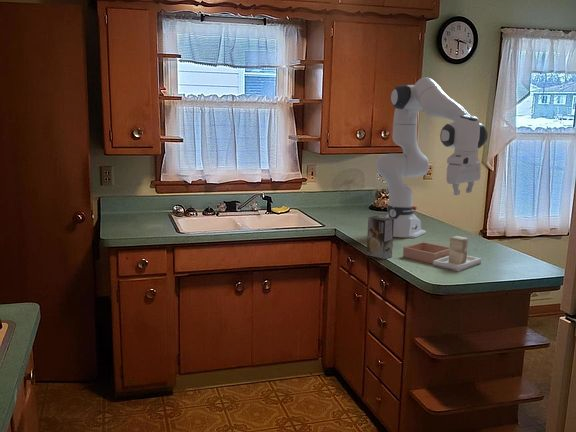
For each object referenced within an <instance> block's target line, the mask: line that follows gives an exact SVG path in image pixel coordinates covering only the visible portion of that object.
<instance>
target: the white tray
mask: <svg viewBox="0 0 576 432" xmlns="http://www.w3.org/2000/svg"><path fill="white" fill-rule="evenodd" d="M448 261H449V256H446V257H443V258H440V259H437V260H434V261H433V263H432V266H433V267H438V268H442V269H446V270H450V271H455V272H461V271H463V270H467V269H469V268H471V267H475V266H478V265H479V264H481V263H482V258H480V257H476V256H471V255H468V254H467V259H466V263H463V264H460V265H458V264H454V263H450V262H448Z"/></svg>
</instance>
